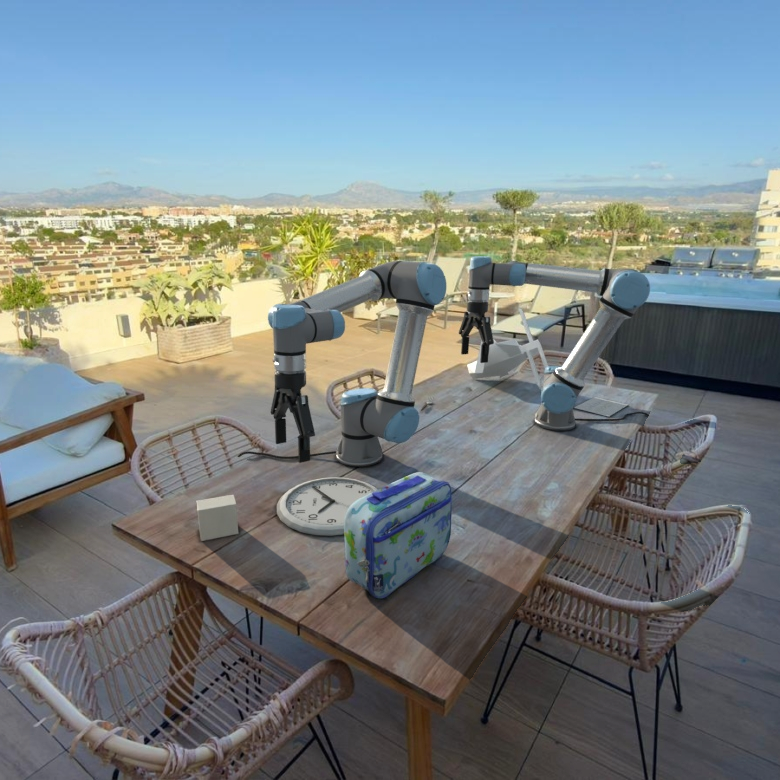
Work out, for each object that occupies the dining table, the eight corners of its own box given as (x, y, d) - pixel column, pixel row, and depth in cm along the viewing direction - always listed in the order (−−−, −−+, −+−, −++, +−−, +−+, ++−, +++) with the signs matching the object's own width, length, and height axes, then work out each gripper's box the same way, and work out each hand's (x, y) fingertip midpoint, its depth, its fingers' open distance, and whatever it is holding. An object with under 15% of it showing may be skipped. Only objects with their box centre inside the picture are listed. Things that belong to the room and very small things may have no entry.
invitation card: (608, 416, 214) (573, 407, 224) (608, 416, 214) (573, 408, 224) (628, 404, 229) (594, 396, 238) (628, 405, 229) (594, 397, 238)
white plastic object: (488, 421, 263) (468, 398, 238) (469, 347, 285) (449, 320, 260) (560, 397, 251) (547, 370, 226) (534, 322, 273) (519, 290, 248)
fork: (417, 411, 216) (418, 406, 216) (428, 400, 231) (428, 395, 230) (423, 412, 215) (424, 407, 215) (434, 400, 230) (434, 396, 229)
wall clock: (392, 527, 129) (268, 531, 127) (391, 533, 130) (269, 537, 127) (383, 473, 158) (282, 475, 155) (383, 478, 158) (282, 480, 156)
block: (199, 530, 130) (196, 500, 128) (235, 523, 133) (233, 494, 131) (201, 541, 126) (197, 510, 123) (238, 533, 129) (236, 503, 126)
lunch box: (372, 611, 103) (373, 518, 97) (338, 585, 111) (336, 497, 104) (455, 557, 121) (460, 475, 115) (420, 537, 128) (424, 459, 122)
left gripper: (255, 361, 134) (259, 438, 140) (299, 384, 114) (300, 473, 120) (283, 358, 138) (285, 433, 144) (329, 380, 118) (329, 466, 124)
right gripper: (451, 296, 198) (448, 351, 204) (488, 306, 176) (483, 367, 182) (468, 296, 200) (465, 350, 207) (506, 305, 178) (501, 365, 185)
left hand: (292, 451), depth 132 cm, fingers open, 13 cm apart
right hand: (474, 358), depth 194 cm, fingers open, 13 cm apart
